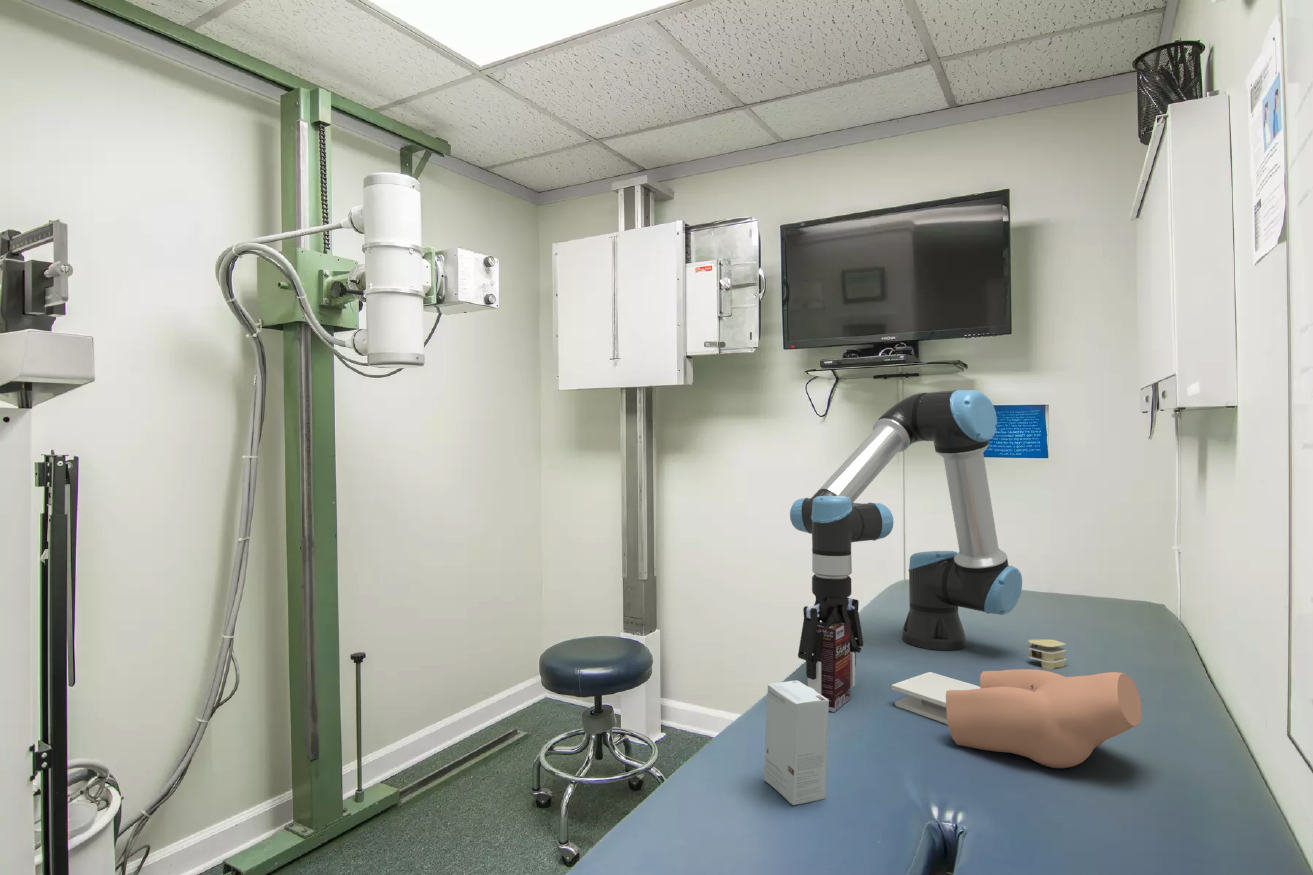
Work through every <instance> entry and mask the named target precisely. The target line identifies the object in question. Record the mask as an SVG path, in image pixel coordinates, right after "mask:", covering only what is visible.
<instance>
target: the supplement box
mask: <svg viewBox="0 0 1313 875" xmlns="http://www.w3.org/2000/svg"><path fill="white" fill-rule="evenodd" d="M821 622H822V621H821ZM822 623H823V622H822ZM849 625H850V621H849V623H848V624H846V623H843V622H839V623H837V622H835V623H834V624H832V626H831V627H823V626H820V625H817V629H816V634H818V633H820V632H822V631H823V647H822V650H821V653H820V656H819V659H818V661H819V662H821V695H822V696H823V697H825V698H826V699H828V700H829V709H828V712H832V713H835V712H837V710H838V709H840V708H841V707H842V706H843V705H844V704H846V703H847V702H848V701H850V700H851V686H850V638H849Z"/></svg>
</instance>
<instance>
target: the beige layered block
mask: <svg viewBox="0 0 1313 875" xmlns="http://www.w3.org/2000/svg"><path fill="white" fill-rule="evenodd" d="M1027 642H1028V643H1031V645H1027V648H1028V649H1029V654H1027V656H1028V658H1029V659H1030V660H1031V659H1032V660H1036V661H1039V664H1041V668H1043V669H1046V670H1054V669H1056V668H1063V667H1065V661H1067V657H1065V652H1067V649H1065V648H1063V647H1059V646H1064V645H1066V643H1064V642H1061V641H1059V640H1056V639H1028V641H1027Z"/></svg>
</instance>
